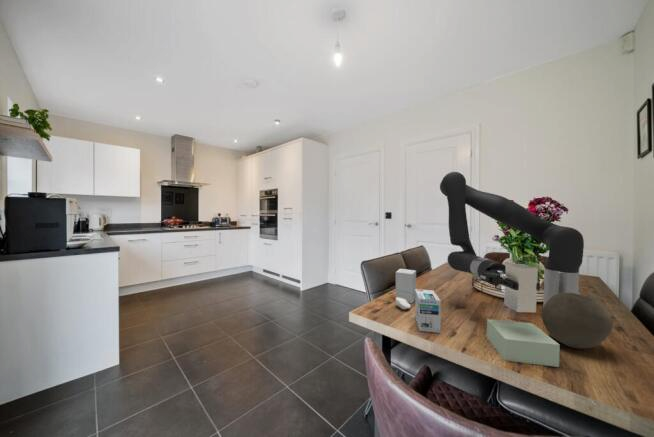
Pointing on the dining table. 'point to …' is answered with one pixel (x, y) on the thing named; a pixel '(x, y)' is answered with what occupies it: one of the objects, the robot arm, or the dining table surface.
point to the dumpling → (402, 303)
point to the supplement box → (406, 284)
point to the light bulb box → (427, 311)
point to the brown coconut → (576, 320)
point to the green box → (522, 343)
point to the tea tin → (521, 288)
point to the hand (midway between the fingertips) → (527, 286)
